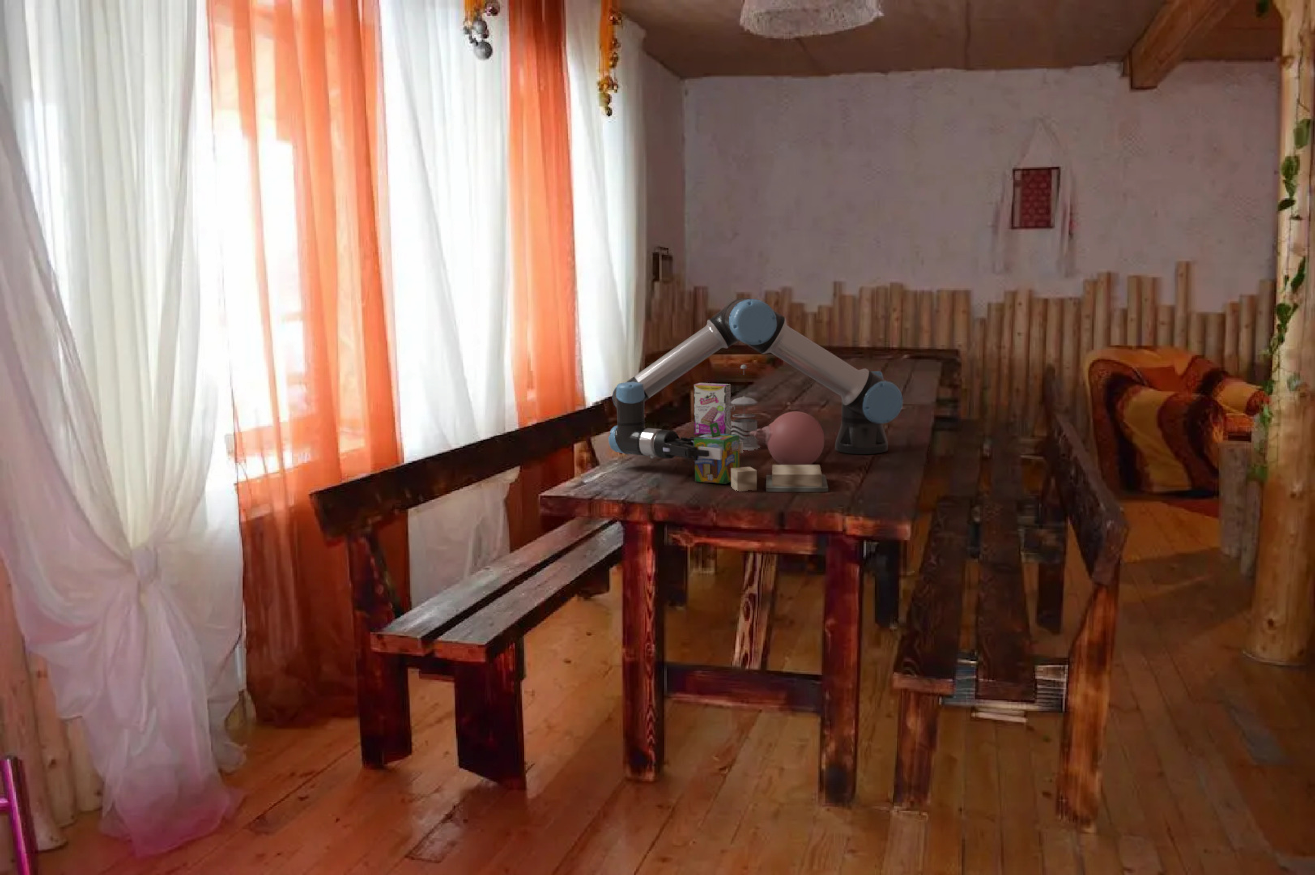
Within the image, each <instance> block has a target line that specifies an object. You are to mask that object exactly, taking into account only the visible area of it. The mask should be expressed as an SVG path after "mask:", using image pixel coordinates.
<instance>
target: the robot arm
mask: <svg viewBox="0 0 1315 875" xmlns="http://www.w3.org/2000/svg"><path fill="white" fill-rule="evenodd" d="M738 342H741V343H744V344H745V345H747V346H749V347H750V348H752V349H754V350H755V351H757V352H758V353H759V354H762V355H764V354H765V355H767V354H770V353H771V354H772V355H774V356H776V358H779V359H780V360H782V361H783V362H785V363H787V365H790V366H792V367H793V368H795V369H797V370H798V371H800V373H803V374H804V375H806V376H808V377H809V378H811V379H812V380H814V381H816V382H817V383H818V384H821V386H824V387H825V388H827V389H829V390H830V391H832V392H833V393H834V394H837V395H838V396H840V397H841V422H840V423H841V424H840V426H839V427H840V428H839V430H838V434H837V436H836V438H835V443H834V444H835V445H834V446H835V447H834V449H835V451H837V452H840V453H844V454H851V455H852V454H853V455H873V454H874V455H875V454H882V453H886V452H888V451H889V442H888V439H887V435H886V431H885V429H884V425H883V424H887V423H890V422H892V421H894V420H895V419H896V418H897V417H898V416H899V414H900V412H901V411H902V408H903V405H904V404H903V403H904V400H903V394H902V391H901V390H900V388H899V387H898V386H897V385H896V384H895V383H893V382H891V381H888V380H886V379H884V376H883V372H882V371H880V370H876V371H872V370H869V369H867V368H862V369H857V368H856V367H854V366H853V365H851V364H850V363H848V362H846V361H845V360H843V359H842V358H840V357H838V356H837V355H835V354H834V353H832V352H831V351H829V350H827V349H825V348H824V347H822V346H820V345H819V344H817V343H816V342H814V341H813V340H811V339H809V338H807V337H806V336H805V335H803V334H802V333H800V332H798V331H797V330H795V329H794V328H792V327H790V326H789V325H788V324H787V318H786V317H785V316H783V315H782V314H780V313H778V312H777V311H776V310H775V309H772V307H771V306H770V305H769V304H768V303H767V302H765V301H763V300H760V299H755V298H747V297H743V298H736V299H734V300H733V301H731V302H729V303H728V304H727V305H726V306H724V307H723V308H722V309H721V310H720V311H718V312H717V313H716V314H714V315H713V316H712V317H710V318H709V319H707V321H706V325H705V326H704V327H703V328H701V329H700V330H698V331H696V332H695V333H694V334H693V335H691V336H690V337H688V338H686V339H685V340H683V341H682V342H681V343H679V344H678V345H677V346H675V347H674V348H673V349H671V350H670V351H668V352H667V353H665V354H664V355H663V356H661V357H659V358H658V359H657V360H656V361H654V362H652V363H650V365H649V366H647V367H646V368H644V369H643V370H641V371H639V372H638V373H636V374H634V376H633V377H632V378H629V379H628V380H627V381H625V382H621V383H617V385H616V386H615V388H614V389H613V391H612V397H611V398H612V402H613V406H615V408H616V416H617V419H616V420H617V422H616V425H614V426H613V427H612V428H611V429H610V431H609V435H608V438H607V439H608V445H609V448H610V449H611V450H612V451H613V452H615V453H619V454H624V455H634V456H643V457H644V456H645V457H649V458H650V459H653V460H654V458H660V459H661V458H662V459H673V458H675V457H679V458H685V459H692V460H693V461H695V460H698V456H699V458H708V459H717V460H721V459H722V449H719V448H710V447H698V449H697V447H694V438H696V437H697V436H695V437H694V436H691V437H690V438H689V437H687V436H686V437H685V436H682V437H679V434H678V433H677V432H676V431H675V430H669V429H661V428H651V427H646V426H645V425H646V421H645V420H646V419H645V402H646V401H648V400H649V399H650V398H651V397H653V396H654V395H656V394H658V393H659V392H660V391H662V390H663V389H664V388H665V387H668V386H669V385H670V384H671V383H673V382H675V381H676V380H677V379H679V378H680V377H682V376H684V374H686V373H688V372H689V371H691V370H692V369H693V368H695V367H696V366H697V365H699V364H700V363H702V362H703V361H704V360H706V359H708V358H709V357H711V356H712V355H713V354H715V353H717V352H718V351H719V350H720V349H728V348H730V347H731V346H732V345H735V344H736V343H738ZM743 453H744V451H743V442H739V454H743Z"/></svg>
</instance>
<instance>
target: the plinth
mask: <svg viewBox="0 0 1315 875" xmlns="http://www.w3.org/2000/svg"><path fill="white" fill-rule="evenodd" d="M771 470H772V471H771V473H772V474H766V478H765V480H766V481H765V492H767V493H772V492H773V493H776V492H777V493H780V492H781V493H782V492H784V493H787V492H788V493H789V492H790V493H791V492H793V493H797V492H798V493H799V492H801V493H808V492H809V493H817V492H818V493H828V492H829V485H828V480H827V478H826V475H825V474H822V471H821V470H822V468H821V465H820V464H810V465H781V464H772V465H771Z"/></svg>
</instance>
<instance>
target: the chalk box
mask: <svg viewBox="0 0 1315 875" xmlns="http://www.w3.org/2000/svg"><path fill="white" fill-rule="evenodd" d="M714 427H715V428H716V429H717V432H716V433H714V431H713V428H714ZM710 430H711V434H710V433H708V434H704V435H699V436H695V437H696V438H694V447H697V449H698V447H710V448H719V449H722V459H721V460H717V459H708V458H699V456H698V460H694V482H695V483H709V484H711V483H712V484H713V483H714V484H724V485H727V484H728V483H731V468H740V466H741V465H740V459H741V458H740V453H739V435H734V434H733V435H731V434H720V430H719V427H718V423H717V422H715V423H712V424H710Z"/></svg>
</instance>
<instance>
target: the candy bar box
mask: <svg viewBox="0 0 1315 875" xmlns="http://www.w3.org/2000/svg"><path fill="white" fill-rule="evenodd" d="M731 388H732V386H731V384H730V383H729V384H728V383H713V382H711V383H710V382H709V383H708V382H698V383H697V382H696V383H695V384H693V416H694V417H693V418H694V420H693V430H694V432H693V434H694V435H699V436H701V435H704V434H708V433H710V434H711V430H710V424H712V423H715V422H717V423H718V427H719V430H720V434H729V435H731V430H729V429H731V427H730V426H731V420H732V419H731V418H732V417H731V416H732V414H731V413H732V410H731V408H730V410H729V408H728V407H730V406H731V407H732V404H731V401H732V400H731V399H732V396H731V395H732V394H731V393H732V392H731V391H732V390H731ZM727 408H728V409H727ZM726 409H727V410H726ZM725 410H726V413H725ZM728 410H729V412H728ZM727 412H728V421H727ZM724 413H725V422H724ZM728 422H729V424H728ZM725 423H726V425H727V427H728V428H729V429H728V428H727V427H726V425H725ZM729 425H730V426H729ZM713 431H714V433H716V432H717V429H716V428H715V427H714V428H713Z"/></svg>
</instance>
